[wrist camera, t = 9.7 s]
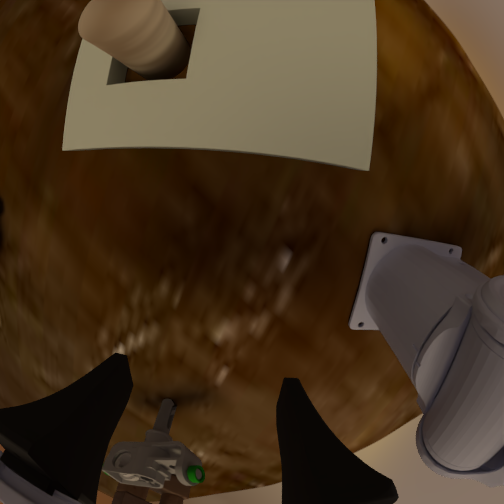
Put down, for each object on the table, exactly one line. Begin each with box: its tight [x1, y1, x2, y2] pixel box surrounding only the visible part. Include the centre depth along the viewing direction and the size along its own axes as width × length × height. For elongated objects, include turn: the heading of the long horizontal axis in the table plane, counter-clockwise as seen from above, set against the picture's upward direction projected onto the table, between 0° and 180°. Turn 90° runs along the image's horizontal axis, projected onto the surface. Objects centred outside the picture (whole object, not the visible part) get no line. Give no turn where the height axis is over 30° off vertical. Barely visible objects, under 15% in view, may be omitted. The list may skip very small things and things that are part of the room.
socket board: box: [62, 0, 377, 171], centre depth 14 cm, size 20×14×2 cm
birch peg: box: [78, 0, 191, 81], centre depth 11 cm, size 4×4×8 cm
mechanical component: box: [102, 399, 205, 488], centre depth 20 cm, size 3×10×10 cm, turn 112°
